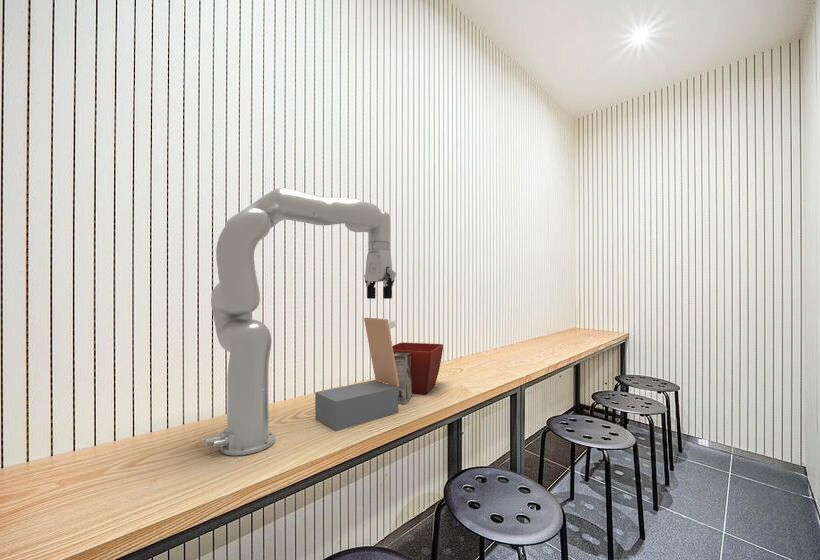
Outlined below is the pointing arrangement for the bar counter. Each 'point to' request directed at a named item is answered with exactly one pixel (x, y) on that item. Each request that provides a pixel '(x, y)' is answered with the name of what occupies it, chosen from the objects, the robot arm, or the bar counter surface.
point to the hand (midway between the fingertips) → (379, 298)
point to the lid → (382, 350)
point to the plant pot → (422, 364)
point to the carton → (355, 404)
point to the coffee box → (403, 376)
